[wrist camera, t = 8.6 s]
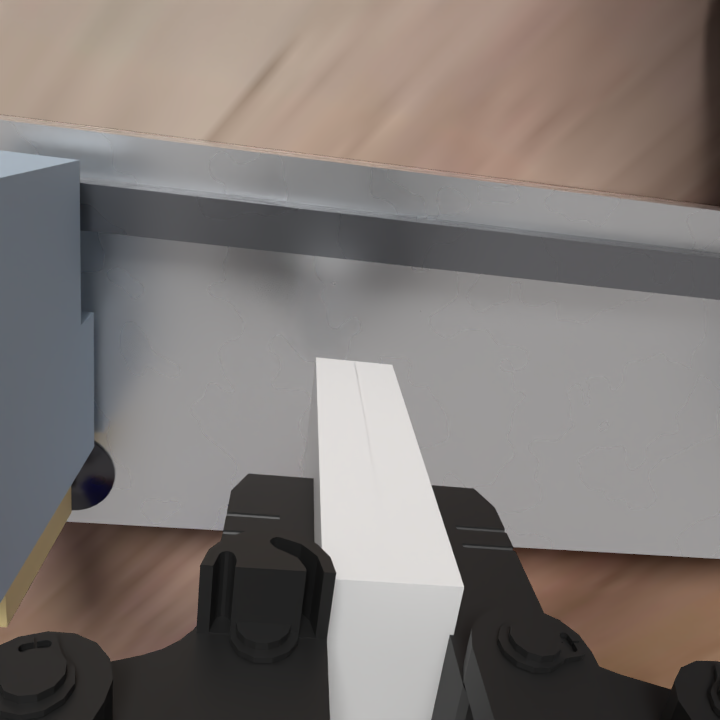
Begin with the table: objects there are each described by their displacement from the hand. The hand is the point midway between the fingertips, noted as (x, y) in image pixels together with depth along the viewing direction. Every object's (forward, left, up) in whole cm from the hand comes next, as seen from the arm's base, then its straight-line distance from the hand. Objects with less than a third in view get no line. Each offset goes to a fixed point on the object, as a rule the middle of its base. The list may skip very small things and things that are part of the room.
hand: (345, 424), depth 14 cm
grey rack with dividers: (0, +5, -6) cm, 7 cm away
